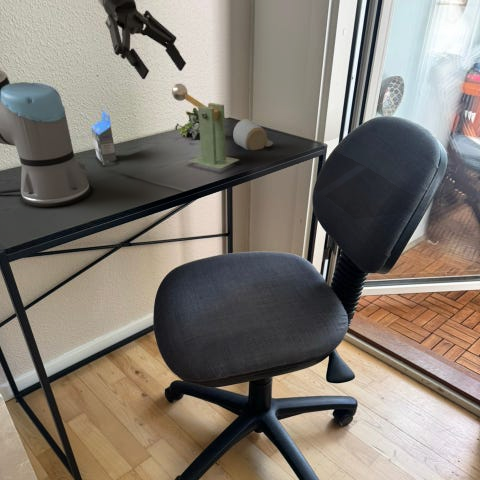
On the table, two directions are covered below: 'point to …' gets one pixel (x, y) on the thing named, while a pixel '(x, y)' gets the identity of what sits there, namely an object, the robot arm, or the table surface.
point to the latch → (188, 97)
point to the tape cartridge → (104, 140)
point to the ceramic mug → (250, 135)
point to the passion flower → (187, 127)
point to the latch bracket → (212, 138)
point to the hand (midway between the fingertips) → (165, 71)
